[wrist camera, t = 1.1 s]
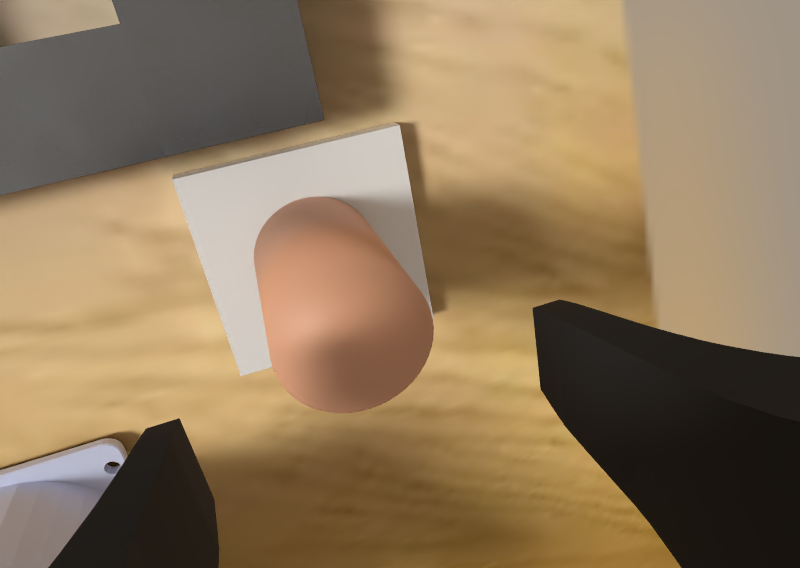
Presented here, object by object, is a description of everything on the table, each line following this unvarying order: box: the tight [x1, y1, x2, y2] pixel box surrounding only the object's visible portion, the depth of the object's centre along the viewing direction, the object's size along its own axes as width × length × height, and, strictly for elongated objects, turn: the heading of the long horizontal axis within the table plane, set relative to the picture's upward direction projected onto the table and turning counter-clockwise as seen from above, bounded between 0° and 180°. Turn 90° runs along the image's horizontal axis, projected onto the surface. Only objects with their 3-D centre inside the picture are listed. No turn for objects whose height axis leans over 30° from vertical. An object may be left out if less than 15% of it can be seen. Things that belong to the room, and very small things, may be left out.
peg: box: [254, 196, 434, 413], centre depth 17 cm, size 4×4×6 cm
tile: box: [172, 122, 434, 376], centre depth 20 cm, size 7×7×1 cm
